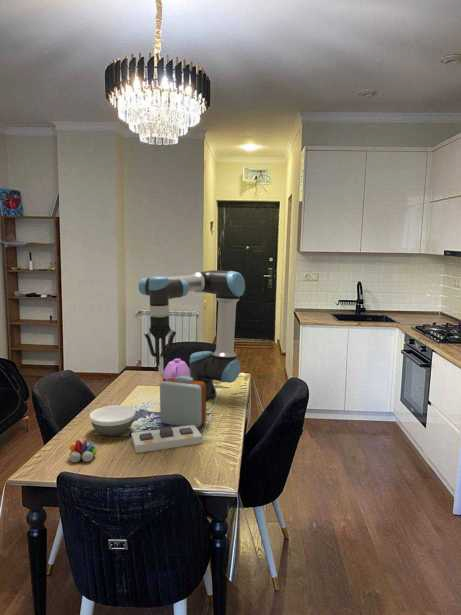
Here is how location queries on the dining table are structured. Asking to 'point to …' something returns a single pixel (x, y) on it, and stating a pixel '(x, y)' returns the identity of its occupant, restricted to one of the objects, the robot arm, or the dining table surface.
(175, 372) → the pink cap
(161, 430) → the button middle
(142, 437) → the button
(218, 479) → the dining table surface
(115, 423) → the bowl
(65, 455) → the dining table surface
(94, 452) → the rainbow disc toy
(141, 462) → the dining table surface
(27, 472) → the dining table surface
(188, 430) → the button
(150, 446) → the board
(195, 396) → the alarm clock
